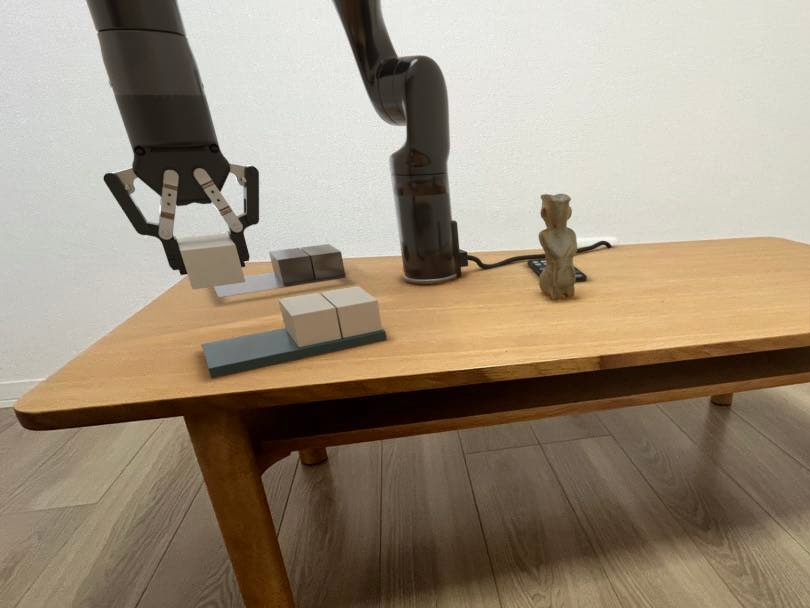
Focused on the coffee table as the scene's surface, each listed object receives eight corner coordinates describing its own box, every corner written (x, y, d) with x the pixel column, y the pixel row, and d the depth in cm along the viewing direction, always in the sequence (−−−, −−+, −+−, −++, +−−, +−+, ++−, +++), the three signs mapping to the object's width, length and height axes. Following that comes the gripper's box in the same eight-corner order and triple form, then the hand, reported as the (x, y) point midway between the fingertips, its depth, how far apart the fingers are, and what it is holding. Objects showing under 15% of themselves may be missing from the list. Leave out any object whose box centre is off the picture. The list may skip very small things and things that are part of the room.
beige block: (235, 267, 64) (226, 233, 62) (245, 282, 58) (235, 244, 56) (187, 274, 62) (176, 238, 60) (192, 289, 56) (180, 250, 54)
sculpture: (567, 287, 89) (568, 190, 82) (582, 299, 83) (585, 196, 76) (534, 290, 88) (532, 192, 81) (546, 303, 82) (545, 198, 74)
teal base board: (365, 321, 76) (358, 284, 73) (387, 339, 69) (380, 300, 67) (204, 353, 66) (190, 312, 64) (211, 378, 59) (196, 334, 57)
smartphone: (546, 280, 90) (525, 260, 103) (546, 284, 91) (526, 263, 103) (588, 276, 92) (562, 257, 105) (588, 280, 92) (562, 260, 105)
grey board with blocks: (331, 270, 102) (325, 242, 100) (350, 284, 93) (344, 253, 91) (212, 287, 92) (203, 257, 90) (220, 305, 84) (210, 271, 81)
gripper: (61, 89, 45) (135, 288, 53) (248, 91, 52) (289, 267, 60) (70, 93, 51) (136, 272, 59) (237, 94, 58) (276, 255, 66)
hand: (213, 269), depth 59 cm, fingers closed on beige block, 5 cm apart
